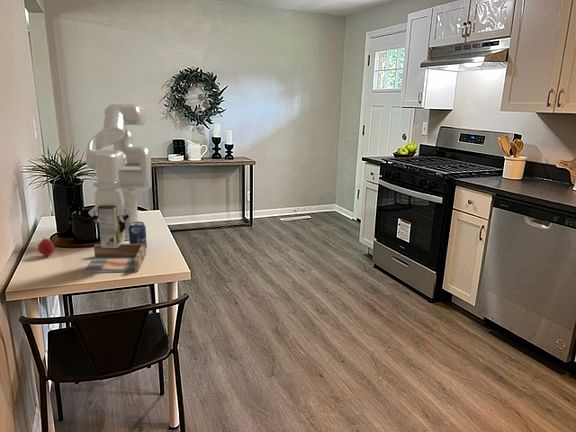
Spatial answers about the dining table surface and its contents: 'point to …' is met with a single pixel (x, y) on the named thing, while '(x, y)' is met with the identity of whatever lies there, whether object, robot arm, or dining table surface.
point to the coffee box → (110, 227)
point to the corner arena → (117, 259)
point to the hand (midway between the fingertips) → (112, 231)
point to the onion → (46, 247)
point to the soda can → (137, 233)
